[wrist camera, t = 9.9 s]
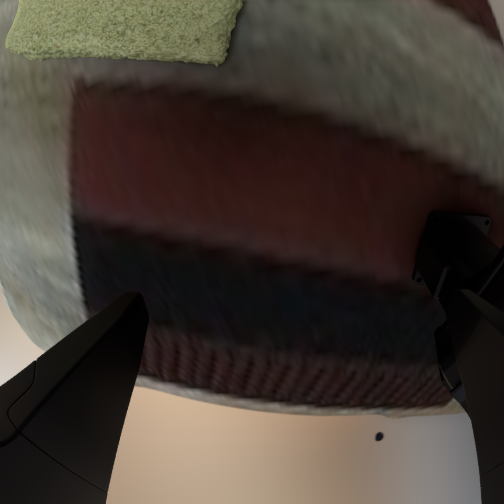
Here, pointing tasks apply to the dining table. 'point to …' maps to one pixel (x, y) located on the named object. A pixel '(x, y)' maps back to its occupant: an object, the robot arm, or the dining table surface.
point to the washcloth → (125, 29)
